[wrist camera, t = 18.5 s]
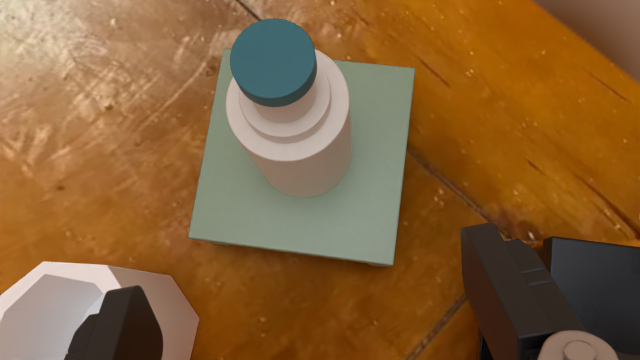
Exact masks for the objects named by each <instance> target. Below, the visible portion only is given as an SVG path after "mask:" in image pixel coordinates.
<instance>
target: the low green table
mask: <svg viewBox="0 0 640 360" xmlns="http://www.w3.org/2000/svg"><path fill="white" fill-rule="evenodd" d="M231 50H232V49H223V54H222V59H221V65H220V70H219V75H218V80H217V86H216V91H215V96H214V102H213V107H212V112H211V117H210V123H209V128H208V133H207V139H206V144H205V149H204V154H203V160H202V165H201V170H200V175H199V181H198V186H197V191H196V197H195V202H194V207H193V212H192V218H191V223H190V228H189V234H188V238H190V239H193V240H199V241H206V242H210V243H212V244H217V245H224V246H230V245H236V246H243V247H250V248H258V249H265V250H273V251H280V252H287V253H295V254H302V255H309V256H317V257H324V258H332V259H339V260H346V261H354V262H361V263H368V265H371V266H378V267H386V266H393V264H394V256H395V247H396V238H397V229H398V220H399V211H400V202H401V193H402V185H403V176H404V167H405V158H406V149H407V140H408V131H409V122H410V113H411V104H412V95H413V86H414V77H415V68H407V67H397V66H387V65H377V64H368V63H358V62H348V61H338V60H332V61H333V62H334V63H335V64H336V65H337V66H338V68H339V69H340V70H341V72H342V74H343V76H344V77H345V80H346V83H347V85H348V90H349V98H350V124H351V160H350V164H349V167H348V169H347V171H346V173H345V175H344V176H343V178H342V179H341V180H340V181H339V183H338V184H337V185H335V186H334V187H333V188H332V189H330V190H329V191H327V192H325V193H323V194H320V195H317V196H313V197H306V198H300V197H293V196H289V195H286V194H284V193H282V192H280V191H278V190H277V189H275V188H274V187H273V186H272V185H271V184H270V183H269V182H268V181H267V180H266V179H265V177H264V176H263V175H262V173H261V172H260V170H259V169H258V168H257V166H256V165H255V163H254V162H253V160H252V159H251V158H250V156H249V155H248V153H247V152H246V151H245V149H244V148H243V146H242V145H241V144H240V142H239V141H238V139H237V138H236V137H235V135H234V133H233V132H232V130H231V128H230V125H229V123H228V119H227V114H226V95H227V91H228V87H229V85H230V82H231V80H232V78H233V75H232V71H231V67H230V54H231Z"/></svg>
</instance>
